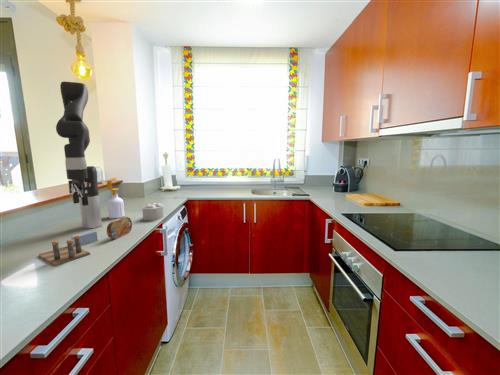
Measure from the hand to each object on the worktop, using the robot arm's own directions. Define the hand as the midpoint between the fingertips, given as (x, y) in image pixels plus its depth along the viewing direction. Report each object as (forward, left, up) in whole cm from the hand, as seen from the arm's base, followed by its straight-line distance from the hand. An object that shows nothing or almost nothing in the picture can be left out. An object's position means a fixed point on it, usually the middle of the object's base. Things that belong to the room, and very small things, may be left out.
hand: (80, 204), depth 112 cm
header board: (+8, -11, -18) cm, 23 cm away
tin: (+4, +14, -18) cm, 23 cm away
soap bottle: (-32, +32, -18) cm, 49 cm away
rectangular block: (0, 0, -18) cm, 18 cm away
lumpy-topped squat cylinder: (-10, +44, -18) cm, 48 cm away
